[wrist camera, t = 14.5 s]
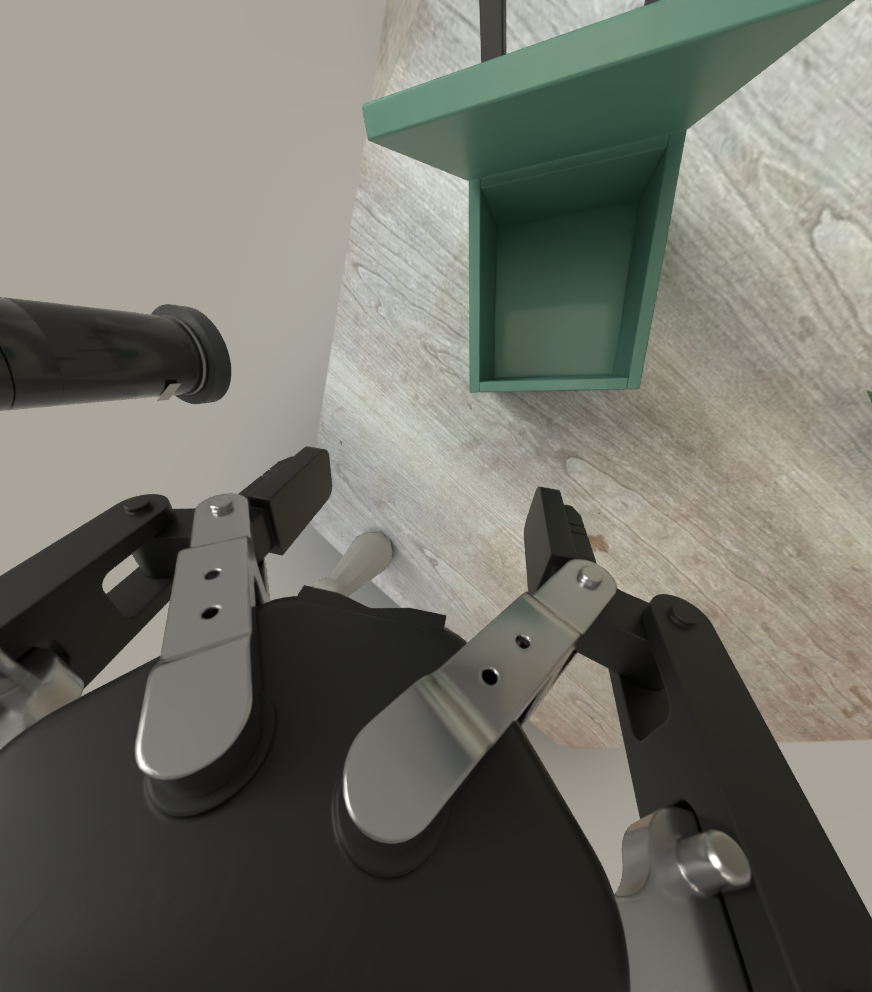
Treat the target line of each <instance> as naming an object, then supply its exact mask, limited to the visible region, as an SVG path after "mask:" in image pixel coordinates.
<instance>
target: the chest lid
mask: <svg viewBox="0 0 872 992" xmlns="http://www.w3.org/2000/svg"><path fill="white" fill-rule="evenodd" d="M853 1H854V0H645V4H644V6H643V7H640V8H637V9H634V10H631V11H628V12H626V13H623V14H620V15H617V16H614V17H611V18H608V19H606V20H603V21H600V22H597V23H594V24H591V25H588V26H586V27H583V28H580V29H577V30H574V31H571V32H568V33H566V34H563V35H560V36H557V37H554V38H551V39H548V40H546V41H543V42H540V43H537V44H534V45H531V46H528V47H526V48H523V49H520V50H517V51H514V52H511V53H508V54H506V0H479V5H480V36H481V63H480V64H477V65H474V66H471V67H469V68H466V69H463V70H460V71H457V72H454V73H451V74H449V75H446V76H443V77H440V78H437V79H434V80H431V81H429V82H426V83H423V84H420V85H417V86H414V87H411V88H409V89H406V90H403V91H400V92H397V93H394V94H391V95H389V96H386V97H383V98H380V99H377V100H374V101H371V102H369V103H366V104H364V105H363V106H362V110H363V116H364V121H365V127H366V132H367V138H368V140H369V141H371V142H374V143H376V144H378V145H381V146H383V147H386V148H388V149H391V150H393V151H396V152H398V153H401V154H403V155H406V156H408V157H411V158H413V159H416V160H418V161H420V162H423V163H425V164H428V165H430V166H433V167H435V168H438V169H440V170H443V171H445V172H448V173H450V174H453V175H455V176H458V177H460V178H463V179H465V180H467V181H469V180H474V179H478V178H482V177H486V176H491V175H495V174H499V173H503V172H508V171H512V170H516V169H520V168H525V167H529V166H533V165H537V164H542V163H546V162H550V161H554V160H559V159H563V158H567V157H571V156H576V155H580V154H584V153H588V152H593V151H597V150H601V149H605V148H610V147H614V146H618V145H622V144H627V143H631V142H635V141H639V140H644V139H648V138H652V137H656V136H661V135H665V134H669V133H673V132H678V131H682V130H686V129H688V128H690V127H691V126H692V125H694V124H695V123H696V122H697V121H699V120H700V119H701V118H703V117H704V116H705V115H706V114H708V113H709V112H710V111H712V110H713V109H714V108H716V107H717V106H718V105H719V104H721V103H722V102H723V101H725V100H726V99H727V98H729V97H730V96H731V95H732V94H734V93H735V92H736V91H738V90H739V89H740V88H741V87H743V86H744V85H745V84H747V83H748V82H749V81H751V80H752V79H753V78H754V77H756V76H757V75H758V74H760V73H761V72H762V71H763V70H765V69H766V68H767V67H769V66H770V65H771V64H773V63H774V62H775V61H776V60H778V59H779V58H780V57H782V56H783V55H784V54H785V53H787V52H788V51H789V50H791V49H792V48H793V47H795V46H796V45H797V44H798V43H800V42H801V41H802V40H804V39H805V38H806V37H808V36H809V35H810V34H811V33H813V32H814V31H815V30H817V29H818V28H819V27H820V26H822V25H823V24H824V23H826V22H827V21H828V20H830V19H831V18H832V17H833V16H835V15H836V14H837V13H839V12H840V11H841V10H842V9H844V8H845V7H846V6H848V5H849V4H850V3H852V2H853Z"/></svg>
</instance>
